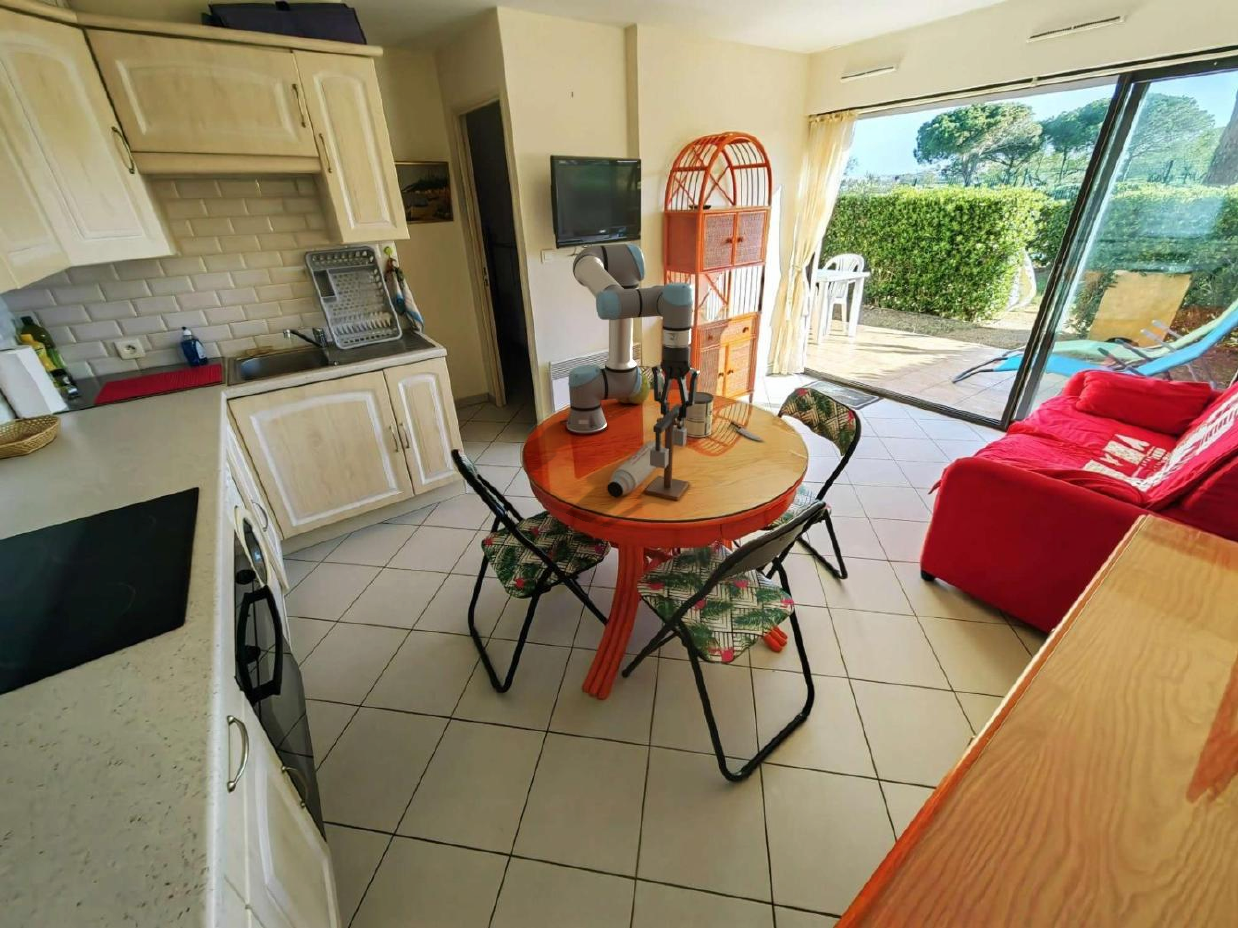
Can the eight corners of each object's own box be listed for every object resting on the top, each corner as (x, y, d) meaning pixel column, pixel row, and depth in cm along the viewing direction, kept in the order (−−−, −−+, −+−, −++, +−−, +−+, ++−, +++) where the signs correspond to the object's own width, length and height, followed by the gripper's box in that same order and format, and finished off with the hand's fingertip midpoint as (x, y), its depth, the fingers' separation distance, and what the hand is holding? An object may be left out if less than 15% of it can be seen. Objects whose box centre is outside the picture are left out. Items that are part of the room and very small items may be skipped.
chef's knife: (756, 443, 180) (763, 441, 181) (757, 441, 179) (764, 439, 180) (725, 425, 195) (732, 423, 196) (725, 422, 195) (732, 420, 196)
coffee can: (683, 426, 195) (684, 391, 189) (710, 427, 194) (712, 391, 188) (683, 437, 186) (685, 400, 179) (712, 438, 185) (714, 401, 178)
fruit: (615, 410, 212) (605, 375, 211) (621, 411, 226) (611, 378, 225) (653, 398, 209) (642, 363, 208) (656, 399, 223) (646, 366, 223)
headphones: (649, 465, 141) (649, 426, 135) (672, 440, 154) (673, 403, 148) (664, 468, 139) (665, 428, 133) (686, 442, 152) (687, 405, 146)
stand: (645, 493, 149) (645, 423, 140) (658, 478, 157) (659, 412, 148) (677, 500, 145) (680, 429, 136) (689, 485, 153) (692, 417, 144)
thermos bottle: (642, 439, 166) (600, 476, 144) (664, 441, 162) (625, 479, 140) (644, 462, 169) (603, 500, 147) (666, 464, 165) (628, 504, 143)
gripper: (641, 345, 136) (641, 426, 146) (702, 351, 129) (697, 436, 139) (652, 339, 142) (651, 417, 152) (711, 344, 135) (706, 426, 145)
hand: (673, 426), depth 146 cm, fingers open, 4 cm apart
